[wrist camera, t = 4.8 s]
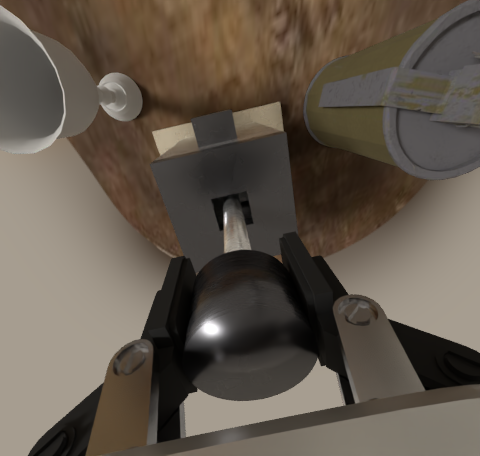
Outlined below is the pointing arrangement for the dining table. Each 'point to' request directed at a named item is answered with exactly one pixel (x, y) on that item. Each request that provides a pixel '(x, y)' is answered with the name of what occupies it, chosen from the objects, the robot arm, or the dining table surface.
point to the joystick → (226, 179)
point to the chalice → (51, 90)
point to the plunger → (246, 320)
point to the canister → (406, 98)
